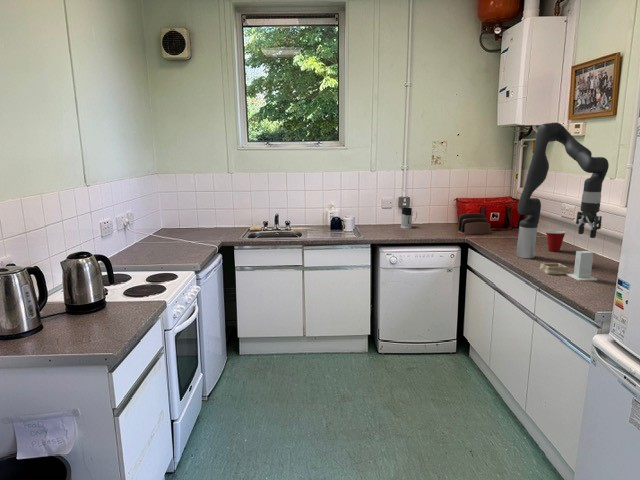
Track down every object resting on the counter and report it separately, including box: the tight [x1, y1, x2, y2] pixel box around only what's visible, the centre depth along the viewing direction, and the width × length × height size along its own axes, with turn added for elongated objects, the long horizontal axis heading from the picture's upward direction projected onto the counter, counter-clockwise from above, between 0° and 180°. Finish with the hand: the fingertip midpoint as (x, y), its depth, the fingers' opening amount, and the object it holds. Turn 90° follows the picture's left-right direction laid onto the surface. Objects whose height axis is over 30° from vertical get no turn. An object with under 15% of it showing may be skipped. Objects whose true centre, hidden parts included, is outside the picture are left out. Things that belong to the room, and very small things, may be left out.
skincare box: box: [573, 250, 594, 277], centre depth 208 cm, size 6×4×12 cm
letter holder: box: [457, 212, 491, 236], centre depth 317 cm, size 10×20×14 cm, turn 100°
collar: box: [539, 262, 569, 275], centre depth 219 cm, size 8×10×4 cm
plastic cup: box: [545, 230, 567, 253], centre depth 262 cm, size 11×11×12 cm
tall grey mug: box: [400, 207, 418, 229], centre depth 339 cm, size 9×14×15 cm, turn 40°
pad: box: [565, 272, 598, 282], centre depth 210 cm, size 10×9×1 cm
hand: (586, 235), depth 206 cm, fingers open, 8 cm apart
